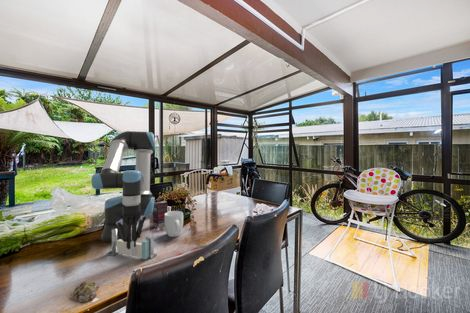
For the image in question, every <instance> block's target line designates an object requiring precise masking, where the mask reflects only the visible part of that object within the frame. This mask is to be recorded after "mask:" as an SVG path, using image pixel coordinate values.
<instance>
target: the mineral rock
mask: <svg viewBox="0 0 470 313" xmlns="http://www.w3.org/2000/svg"><path fill="white" fill-rule="evenodd" d="M99 287H100V286H99V285H98V284H96V283H95V282H92V281H82V282H80V284H78V285H77V286H76V287H75V288H74V289H73V291H72V293H71V295H70V299H72V300H74V301H76V302H80V303H83V302H88V301H93V300H94V299H95V298H96V297H97V290H99V289H100V288H99Z"/></svg>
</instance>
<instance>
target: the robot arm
mask: <svg viewBox="0 0 470 313" xmlns="http://www.w3.org/2000/svg"><path fill="white" fill-rule="evenodd" d="M109 147H110V148H109V151H108V154H107V156H106V159H105V161H104V163H103V166H102V168H101V171H100V172H97V173H93V174H92V177H91V179H90V180H91V187H92V188H93V189H95V190H110V189H111V190H112V189H122V195H119V196H115V197H109V198H108V199H106V200H105V201H104V226H103V230H102V233H101V235H100V236H101V238H100V239H101V241H102V242H107V243H108V242H109V243H112V229H114V228H117V240H119V239H122V241H124V242H126V247H127V249H128V254H129V255H128V256H130V257H134V256H133V255H134V247H135V246H136V242H137V241H138V239H140V238H141V235H142V231H143V227H144V223H145V220H146V219H147V217H151V216H153V208H154V203H155V201H156V200H155V196H153V193H152V192H151V189H150V188H151V155H153V153H154V150H156V141H155V135H154V133H153V132H151V131H136V130H135V131H134V130H133V131H132V130H131V131H129V130H126V131H123V132H121V133H120V132H119V133H118V134H117V135H116V136H114V137H113V138H112V140H111V141H110V144H109ZM128 150H133V153H134V154H135V169H133V170H132V169H131V170H124V171H123V172H119V171H120V167H121V165H122V162H123V158H124V155H125V153H126V152H127V151H128Z"/></svg>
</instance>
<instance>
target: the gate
mask: <svg viewBox="0 0 470 313" xmlns="http://www.w3.org/2000/svg"><path fill="white" fill-rule="evenodd" d="M117 253H119V254H122V255H124V256H125V255H126V256H130V255H129V254H128V249H127V247H126V242H124V241H122V239H119V240H117ZM132 257H135V258H140V259H143V260H147V259H149V258H148V257H149V240H146V239H144V240H142V241H141V242H137V241H136V246H135V247H134V255H133V256H132Z"/></svg>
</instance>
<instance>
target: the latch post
mask: <svg viewBox="0 0 470 313" xmlns="http://www.w3.org/2000/svg"><path fill="white" fill-rule="evenodd" d="M145 240H149V257H148V258H147V259H149V260H152V259H154V258H155V257H156V256H157V254H156V253H154V252H155V251H154V249H155V248H154V244H155V243H154V240H155V239H154V235H146V236H145Z"/></svg>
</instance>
